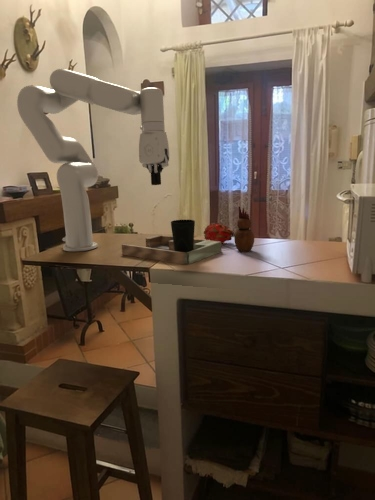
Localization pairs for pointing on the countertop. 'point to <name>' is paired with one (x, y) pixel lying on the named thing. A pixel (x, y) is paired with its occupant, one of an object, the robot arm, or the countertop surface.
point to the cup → (183, 235)
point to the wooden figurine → (244, 233)
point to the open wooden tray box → (172, 250)
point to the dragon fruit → (218, 233)
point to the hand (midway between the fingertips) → (156, 184)
